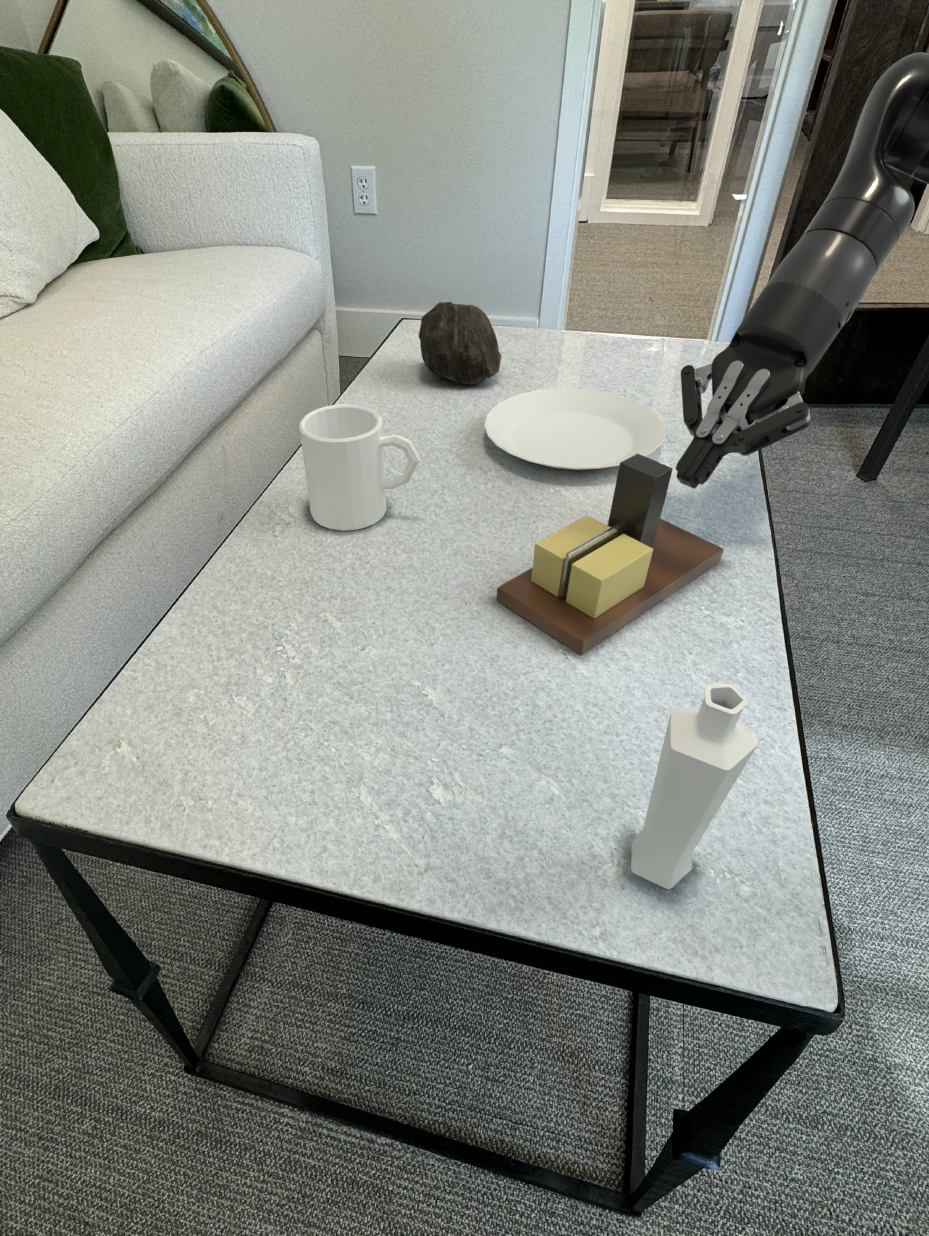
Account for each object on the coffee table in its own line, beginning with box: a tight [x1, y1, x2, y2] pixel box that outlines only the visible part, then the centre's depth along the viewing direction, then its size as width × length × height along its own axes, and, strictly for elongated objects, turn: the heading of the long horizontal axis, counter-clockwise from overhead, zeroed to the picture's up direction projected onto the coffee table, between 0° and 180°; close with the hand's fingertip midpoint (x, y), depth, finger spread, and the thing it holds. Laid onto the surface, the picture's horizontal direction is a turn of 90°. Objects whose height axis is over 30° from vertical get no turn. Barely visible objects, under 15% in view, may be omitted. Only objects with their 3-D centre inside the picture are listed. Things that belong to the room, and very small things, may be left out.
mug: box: [298, 403, 421, 532], centre depth 74 cm, size 8×12×10 cm
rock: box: [418, 301, 502, 385], centre depth 99 cm, size 10×11×10 cm
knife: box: [560, 454, 674, 597], centre depth 62 cm, size 10×4×9 cm, turn 130°
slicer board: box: [496, 518, 725, 656], centre depth 67 cm, size 20×10×2 cm, turn 130°
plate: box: [483, 387, 667, 471], centre depth 86 cm, size 21×21×2 cm
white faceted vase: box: [630, 683, 760, 890], centre depth 41 cm, size 5×4×15 cm
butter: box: [531, 514, 653, 619], centre depth 64 cm, size 7×7×4 cm
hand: (685, 482), depth 67 cm, fingers closed
